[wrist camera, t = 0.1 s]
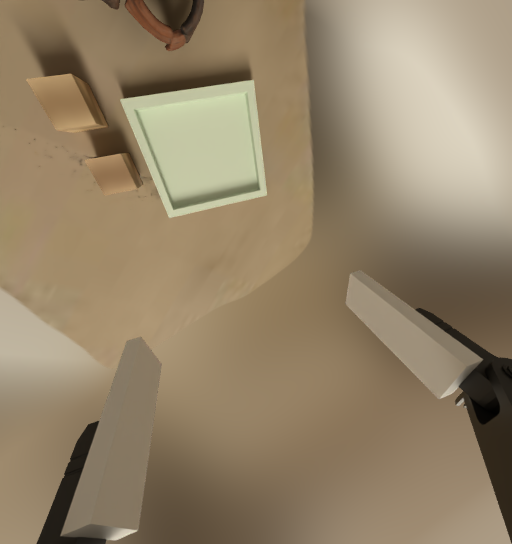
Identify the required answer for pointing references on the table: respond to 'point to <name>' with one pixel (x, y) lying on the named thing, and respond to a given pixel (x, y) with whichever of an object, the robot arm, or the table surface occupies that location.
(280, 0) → the table surface
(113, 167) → the oak cube
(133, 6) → the broken pot
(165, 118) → the tray
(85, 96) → the oak cube
